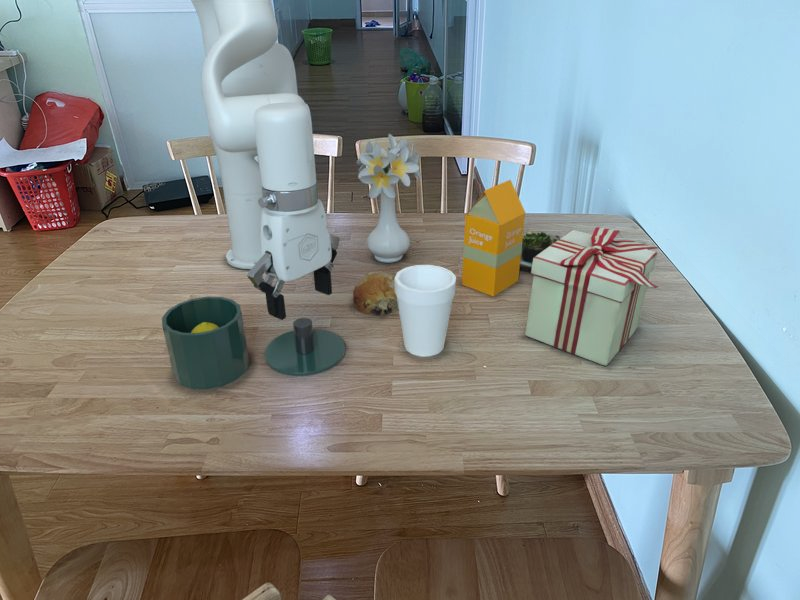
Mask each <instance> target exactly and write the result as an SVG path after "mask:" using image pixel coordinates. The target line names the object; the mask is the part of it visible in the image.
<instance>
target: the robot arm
mask: <svg viewBox="0 0 800 600" xmlns="http://www.w3.org/2000/svg"><path fill="white" fill-rule="evenodd" d="M191 4H192V5H193V7H194V9H195V12H196V15H197V17H198V20H199V24H200V29H201V36H202V42H203V43H202V44H203V50H204V54H205V55H204V56H205V60H204V63H203V65H202V70H201V76H200V86H201V95H202V100H203V104H204V105H203V106H204V110H205V113H206V118H207V123H208V132H209V136H210V139H211V143H212V146H213V149H214V152H215V155H216V160H217V163H218V168H219V173H220V179H221V185H222V186H221V187H222V191H223V197H224V204H225V210H226V218H227V224H228V230H229V236H230V244H231V248H230V249H228V250H227V251H226V254H225V261H226V263H227V264H228V265H230V266H231V267H233V268H237V269H241V270H242V269H243V270H248V272H247V275H246V276H247V278H248V279H249V281H250V282H251V284H252V285H253V287H254V288H255V289H257V290H259V291H260V292H262V293H263V294H264V295H265V301H266V308H267V312H268V315H269V316H272V317H273V318H276V319H279V320H281V321H283V320H286V318H287V311H286V304H285V296H284V294H282V293H281V292H282V290H283V288H284V285H285V283H291V282H295V281H296V280H298V279H301V278H303V277H305V276H307V275H310V274H311V273H313V283H314V290H315V291H316V292H318V293H321V294H324V295H327V296H330V295H332V294H333V285H332V272H331V271H332V270H333V269H334V262H335V259H336V257H337V255H338V251H337V250H338V248H339V244H340V240H341V239H340V236H337V235H333V234H330V228H329V222H328V216H327V213H326V209H325V205H324V204H323V201H322V200H321V199H319V197H318V186H317V172H316V171H317V170H316V159H315V158H316V157H315V145H314V136H313V135H314V134H313V124H312V123H313V121H312V115H311V110H310V107H309V105H308V103H306V102H305V100H304V98H302V96H300V95H299V93H298V82H297V74H296V67H295V62H294V59H293V56H292V54H291V52H290V50H289V49H288V48H287V47H286V46H285V45H283V44H282V43H279V42H277V40H278V37H279V26H278V23H277V19H276V16H275V12H274V9H273V8H274V7H273V5H272V1H271V0H191ZM255 157H257V160H256V159H255ZM264 275H265V278H264V277H263V276H264ZM275 279H276V280H275ZM274 280H275V282H274ZM273 283H274V285H273Z"/></svg>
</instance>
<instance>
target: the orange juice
mask: <svg viewBox="0 0 800 600" xmlns="http://www.w3.org/2000/svg"><path fill="white" fill-rule="evenodd" d="M464 216H465V217H464V231H463V233H464V235H463V247H462V274H461V276H462V277H461V285H462V286H465V287H467V288H470V289H473V290H475V291H478V292H480V293H483V294H486V295H488V296H490V297H496V296H497V295H499V294H500V293H501V292H504V291H506V289H508V288H510V287H511V286H513V285H514V284H516V283H517V282H519V277H520V258H521V251H522V238H523V236H524V227H525V219H526V218H525V217H526V211H525V209H524V206H523V204H522V201H521V200H520V197H519V195H518V193H517V191H516V189H515V187H514V184H513V182H512V180H511V179H509V180H506V181H504V182H501V183H499V184H496V185H494V186H492V187H489V188H487V189H485V190H483V192H482V194H481V195H480V197H479V198H478V199H477V201H476V202H475V203H474V204H473V205H472V207H471V208H470V209H469V211H468V212H467V213H466V214H465V215H464Z"/></svg>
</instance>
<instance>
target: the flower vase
mask: <svg viewBox="0 0 800 600" xmlns="http://www.w3.org/2000/svg"><path fill="white" fill-rule="evenodd" d="M387 136H388V140H389V145H387V149H388V151H387V150H386V149H385V148H384V147H383V148H382V147H381V146H380V144H377V138H375V139H374V141H373V143H372V142H371V141H370V140H368V141H367V142H366V145H365V153H363V152H362V153H360V154H359V155H358V159H357V160H356V163H355V164H356V165H360V167H359V168H358V170H357V172H358V176H357V179H359V181H360V182H361V183H362V184H365V185H371V187H370V189H369V190H368V197H369V199H370V200H371V199H373V200H375V199H376V198H377V197H379V195H380V200H379V201H380V202H379V203H380V204H379V207H380V208H379V218H378V221H377V224H376V226H375V228H374V229H372V230H371V231H370V233H369V234H368V235H367V238H366V248H367V250H368V251H369V252H370V253H371V254H372V255H373V257H374V259H375V260H376V261H378V262H380V263H385V264H386V263H388V264H390V263H391V264H392V263H396V262H399V261H401V260H402V259H403V257H404V254H406V253H407V251H408V250H409V249H410V247H411V239H410V237H409V234H408V233H407V232H406V230H404V229H403V227H401V225H400V223H399V220H398V217H397V211H396V210H397V209H396V183H397V184H398V182H399V181H401V183H402V184H403V185H404V186H405V187H410V186H411V179H410V176H409V175H408V174H413V176H414V178H415V179H416V180H417V181H419V179H421V178H422V175H421V172H420V165H419V164H418V163H419V159H420V155H419V153H418V152H415V142H412V145H411V148H410V151H409V145H410V144H409V141H408V140H407V139H401V140H400V141H399V142H398V143H397V140H396V138H395V137H394V136H393V135H392V134H391V133H388V135H387ZM389 164H390V165H389ZM389 166H390V167H389Z"/></svg>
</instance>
